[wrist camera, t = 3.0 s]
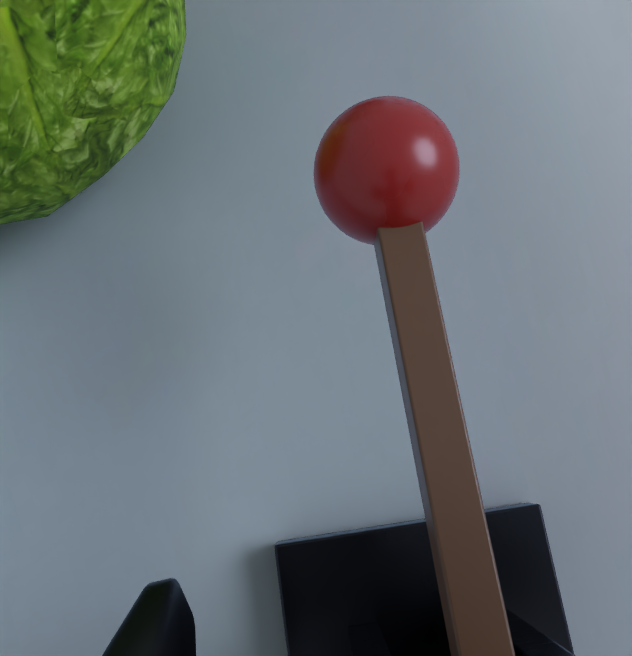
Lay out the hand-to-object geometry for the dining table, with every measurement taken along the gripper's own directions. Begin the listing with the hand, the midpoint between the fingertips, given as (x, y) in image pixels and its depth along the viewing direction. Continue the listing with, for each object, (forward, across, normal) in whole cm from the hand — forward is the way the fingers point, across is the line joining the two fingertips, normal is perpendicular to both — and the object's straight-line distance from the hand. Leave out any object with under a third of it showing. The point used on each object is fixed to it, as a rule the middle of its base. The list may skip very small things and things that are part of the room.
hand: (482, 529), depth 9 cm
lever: (+5, 0, +3) cm, 6 cm away
